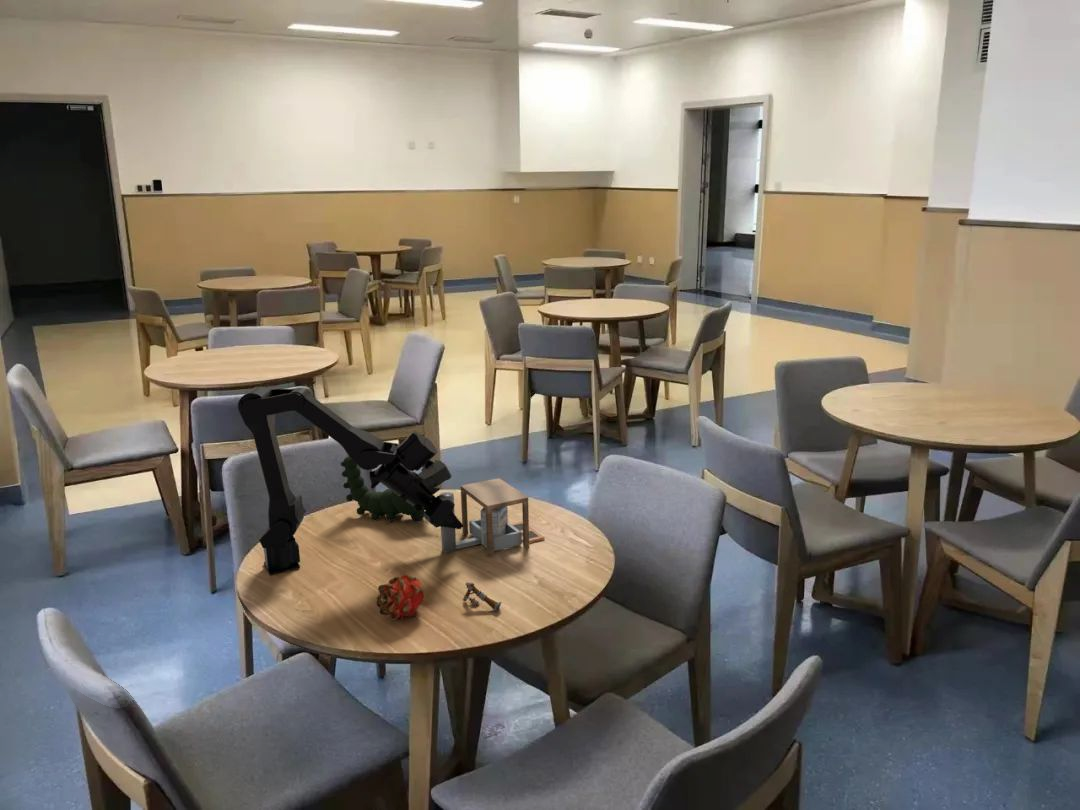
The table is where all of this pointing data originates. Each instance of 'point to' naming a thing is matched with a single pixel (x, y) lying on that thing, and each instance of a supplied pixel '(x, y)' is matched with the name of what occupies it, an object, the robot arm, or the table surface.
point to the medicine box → (495, 521)
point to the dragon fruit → (400, 597)
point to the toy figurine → (376, 497)
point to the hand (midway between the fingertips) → (453, 520)
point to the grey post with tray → (478, 535)
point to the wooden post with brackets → (481, 595)
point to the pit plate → (532, 533)
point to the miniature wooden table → (494, 505)
